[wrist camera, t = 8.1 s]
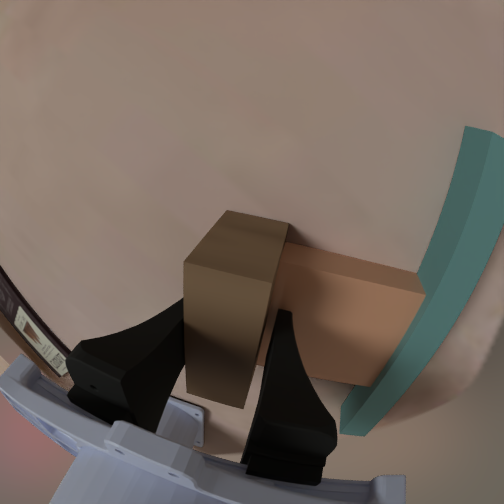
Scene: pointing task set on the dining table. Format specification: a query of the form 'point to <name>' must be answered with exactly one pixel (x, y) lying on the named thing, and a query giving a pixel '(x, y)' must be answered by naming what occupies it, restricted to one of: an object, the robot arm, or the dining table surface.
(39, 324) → the chocolate bar
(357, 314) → the tile
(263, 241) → the tall cardboard box
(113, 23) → the dining table surface
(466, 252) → the rail
